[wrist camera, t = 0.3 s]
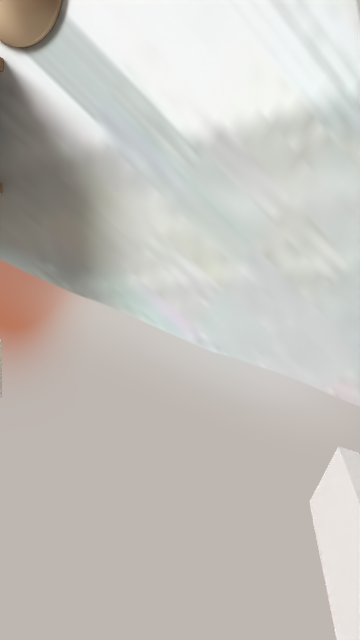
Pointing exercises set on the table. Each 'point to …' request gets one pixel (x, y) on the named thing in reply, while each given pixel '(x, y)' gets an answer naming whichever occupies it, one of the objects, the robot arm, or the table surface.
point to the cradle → (0, 68)
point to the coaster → (27, 20)
